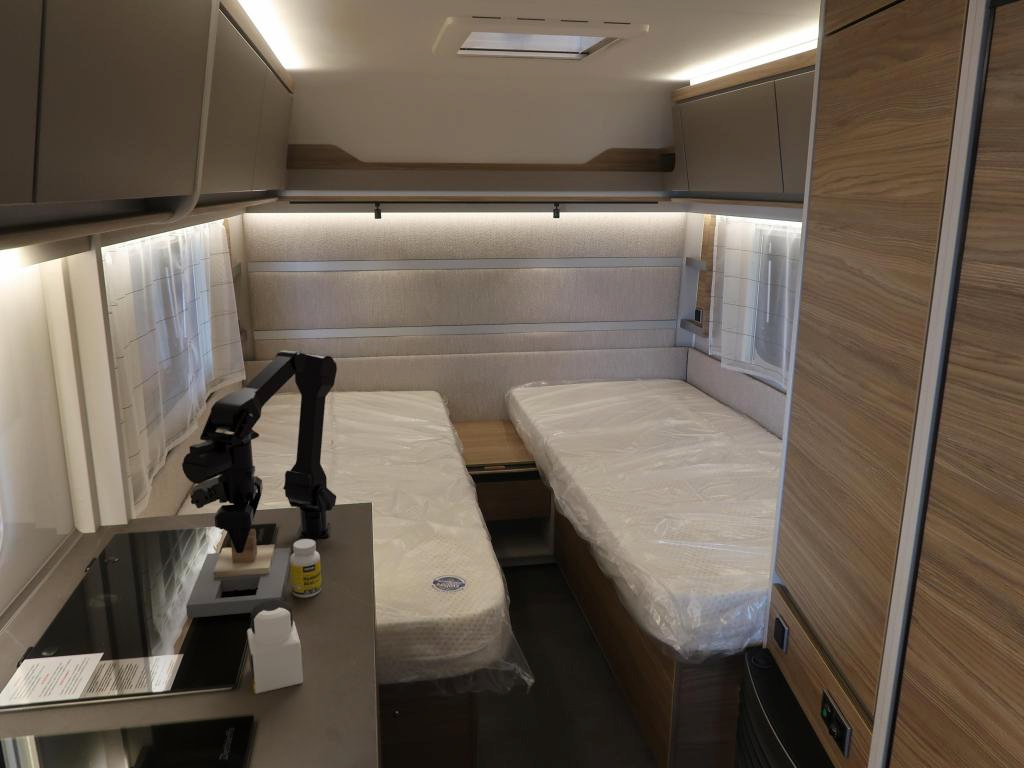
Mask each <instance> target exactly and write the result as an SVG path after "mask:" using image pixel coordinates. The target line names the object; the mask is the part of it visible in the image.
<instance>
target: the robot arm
mask: <svg viewBox="0 0 1024 768" xmlns="http://www.w3.org/2000/svg"><path fill="white" fill-rule="evenodd" d="M337 366H338V365H337V362H335V360H334V358H333V357H332V356H330V355H325V354H324V355H323V354H315V353H304V352H303V353H302V352H301V351H297V350H290V349H288V350H287V349H283V350H280V351H278V352H277V353H276V355H275V358H274V359H273V360H272V361H271V362H269V363H268V364H267V365H266V366H265V367H264V368H263V369H262V370H261V371H260V372H258V374H256V375H255V377H253V378H252V379H251V380H250V381H249V382H248V383H247V384H246V385H245V386H244V387H243V388H241V389H239V390H237V391H236V390H235V391H234V392H231V393H227V394H226V395H225V396H223V397H222V398H220V399H218V400H217V401H216V402H215V403H214V404H213V405H212V406H211V408H210V413H209V415H208V417H207V420H206V422H205V424H204V426H203V429H202V432H201V435H200V437H199V439H200V440H201V441H203V442H200V443H195V444H192V445H190V446H189V452H188V453H187V454H186V455H185V456H184V458H183V461H182V463H181V465H182V471H183V473H184V475H185V477H186V478H187V479H188V481H190V482H191V483H193V484H196V485H194V486H193V487H192V488H191V491H190V492H189V495H190V496H189V497H190V500H191V501H190V503H191V504H192V505H194V506H195V507H196V508H197V509H201V508H203V507H205V506H207V505H209V504H211V503H214V502H217V501H218V502H219V504H222V505H221V506H220V507H219V508H218V509H217V511H216V514H215V515H214V517H213V518H214V525H215V526H214V527H215V528H217V529H219V530H224V531H226V532H227V534H228V536H229V537H230V541H231V540H232V543H233V545H234V548H235V550H236V552H237V553H243V550H244V547H245V544H246V541H247V538H248V535H249V532H250V529H252V525H253V522H254V519H255V516H256V512H257V510H258V507H259V503H260V500H261V497H262V495H263V493H262V492H263V489H264V487H263V479H261V478H260V477H259V476H258V475H256V476H255V472H256V466H255V465H254V460H253V449H252V448H253V447H252V440H255V439H257V438H259V437H260V434H259V433H258V432H256V431H255V430H254V429H253V428H254V426H255V425H256V423H258V421H259V419H260V418H261V417H262V408H263V407H264V406H265V404H266V403H267V402H269V400H271V398H272V397H273V396H274V395H275V394H276V393H277V392H278V391H279V390H281V388H282V387H283V386H284V385H285V384H286V383H287V382H289V381H290V379H291V378H292V377H294V383H295V385H296V387H297V389H298V390H299V391H298V392H299V393H300V395H301V397H300V398H301V399H300V408H299V411H300V412H299V421H298V422H299V423H298V435H297V448H296V460H295V463H294V464H293V466H292V468H291V469H290V470H285V473H284V485H283V490H284V494H285V497H286V498H287V501H288V503H289V506H290V507H293V508H294V507H295V508H297V509H298V508H299V518H300V519H299V520H300V521H299V522H300V525H299V529H298V535H297V538H298V540H302V539H317V538H318V539H319V538H329V537H330V530H331V523H330V522H328V511H332V510H333V507H335V506H336V502H337V495H336V494H335V493H334V492H333V491H332V490H330V488H328V487H327V486H328V485H327V484H328V483H327V482H328V481H327V475H326V473H325V470H324V469H323V467H322V464H321V459H322V458H321V457H322V456H321V455H322V444H323V433H324V432H323V430H324V420H325V409H326V408H325V407H326V406H325V405H326V397H327V395H328V394H329V392H331V390H332V388H333V387H334V386H335V380H336V375H337V372H338V370H337V369H338V368H337ZM217 430H218V431H219V432H218V431H217ZM220 431H225V432H231V433H225V432H220ZM227 502H228V504H225V503H227ZM223 504H224V505H223Z"/></svg>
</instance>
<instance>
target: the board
mask: <svg viewBox="0 0 1024 768" xmlns="http://www.w3.org/2000/svg"><path fill="white" fill-rule="evenodd" d="M220 553H221V552H213V553H207V554H206V556H205V558H204V562H203V564H202V565H201V569H200V571H199V574H198V576H197V578H196V580H195V583H194V585H193V588H192V591H191V593H190V595H189V598H188V599H187V602H186V605H185V607H186V614H187V615H186V616H187V619H193V618H204V617H205V618H206V617H215V616H225V615H226V616H227V615H238V614H248V613H249V614H251V611H252V610H253V608H254V607H255V606H257V605H258V604H260V603H263V602H266V601H270V600H282V601H285V597H286V590H287V589H286V588H287V584H288V579H289V575H290V569H291V567H290V558H291V556H292V551H291V547H283V548H282V547H280V548H279V547H278V548H275V552H274V556H273V560H272V564H271V569H270V573H266V574H254V575H241V576H229V577H216V578H214V573H213V572H214V569H215V566H216V564H217V561H218V559H219V556H220ZM256 588H258V589H256ZM245 589H246V590H245ZM248 589H250V590H256V593H255V594H254V595H242V596H231V597H229V596H228V597H222V594H223V593H225V592H235V591H234V590H238V591H249V590H248Z"/></svg>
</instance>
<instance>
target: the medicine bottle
mask: <svg viewBox="0 0 1024 768" xmlns="http://www.w3.org/2000/svg"><path fill="white" fill-rule="evenodd" d="M249 614H250V622H251V623H250V625H251V626H250V627H251V628H248V629H247V630H246V635H247V645H248V656H249V667H250V673H251V674H250V675H251V681H252V686H253V692H254V694H261V693H265V692H270V691H273V690H279V689H283V688H287V687H292V686H296V685H300V684H302V683H303V681H304V677H303V662H302V660H303V659H302V648H301V640H300V637H299V634H298V630H297V627H296V624H295V621H294V618H293V607H292V605H291V603H289V602H287V601H285V600H284V601H282V600H270V601H266V602H263V603H260V604H258V605H257V606H255V607H254V608H253V610H252V611H251V613H249Z"/></svg>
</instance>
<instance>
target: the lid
mask: <svg viewBox="0 0 1024 768" xmlns="http://www.w3.org/2000/svg"><path fill="white" fill-rule="evenodd" d="M275 546H276V545H275V543H274V544H262V545H257V531H256V528H251V529H250V532H249V535H248V538H247V541H246V544H245V547H244V550H243V553H237V552H236V550H235V548H234V545H233V543H232V540H231V539H230V547H222V549H221V551H220V552H219V553H220V556H219V559H218V561H217V564H216V566H215V569H214V572H213V573H214V578H216V577H229V576H241V575H254V574H266V573H270V569H271V564H272V560H273V556H274V552H275V549H276V547H275Z"/></svg>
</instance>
